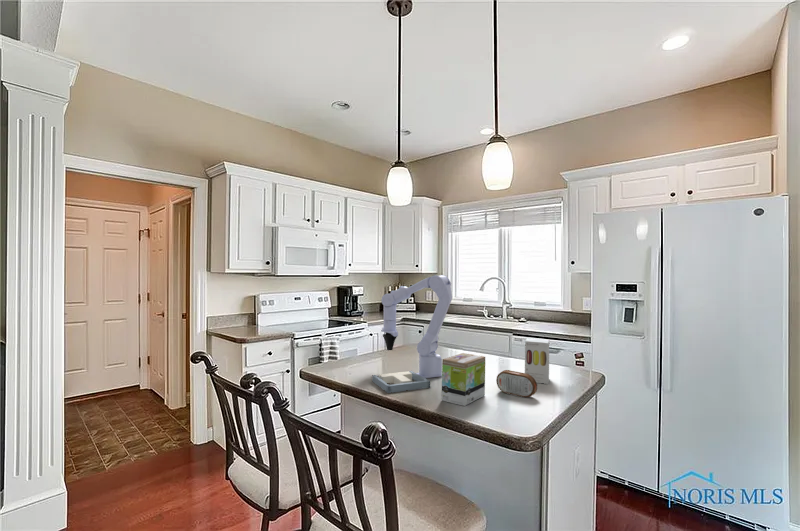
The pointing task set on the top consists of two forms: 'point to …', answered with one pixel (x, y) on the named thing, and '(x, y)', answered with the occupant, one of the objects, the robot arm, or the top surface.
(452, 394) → the tea box
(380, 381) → the shallow grey tray
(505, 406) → the top surface
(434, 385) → the top surface
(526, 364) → the supplement box
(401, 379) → the t block
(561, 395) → the top surface
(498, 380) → the tin
